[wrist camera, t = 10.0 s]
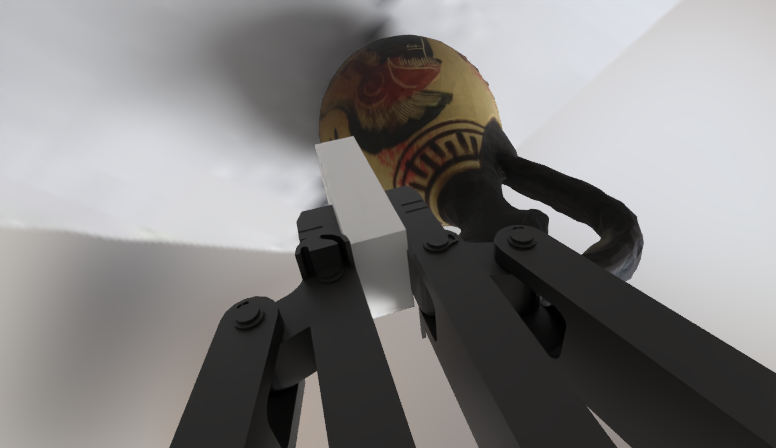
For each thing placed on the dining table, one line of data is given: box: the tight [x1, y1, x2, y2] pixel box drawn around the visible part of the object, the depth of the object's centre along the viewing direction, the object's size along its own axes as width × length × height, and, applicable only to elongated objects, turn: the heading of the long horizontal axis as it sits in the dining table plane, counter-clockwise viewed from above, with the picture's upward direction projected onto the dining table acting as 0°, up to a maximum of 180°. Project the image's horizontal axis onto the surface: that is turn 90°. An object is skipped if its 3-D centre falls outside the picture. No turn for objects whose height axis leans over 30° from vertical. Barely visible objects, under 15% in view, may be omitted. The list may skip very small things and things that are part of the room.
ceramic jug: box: [319, 35, 644, 281], centre depth 31 cm, size 17×15×30 cm
